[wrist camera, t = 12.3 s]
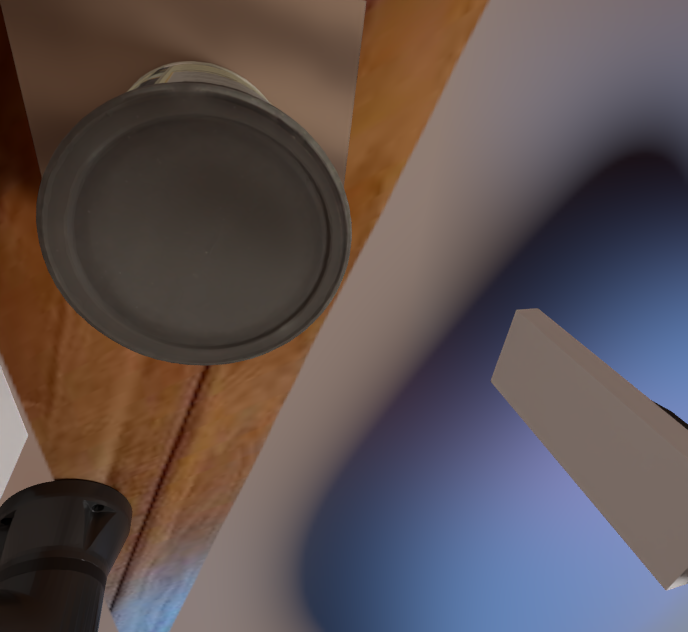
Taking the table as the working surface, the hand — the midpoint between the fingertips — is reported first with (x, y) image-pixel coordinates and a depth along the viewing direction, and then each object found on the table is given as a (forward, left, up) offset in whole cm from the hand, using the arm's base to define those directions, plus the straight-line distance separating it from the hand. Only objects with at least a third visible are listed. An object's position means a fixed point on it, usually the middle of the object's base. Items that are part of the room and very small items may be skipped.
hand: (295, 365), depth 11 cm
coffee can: (+1, +2, -20) cm, 20 cm away
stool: (+1, +2, -32) cm, 32 cm away
